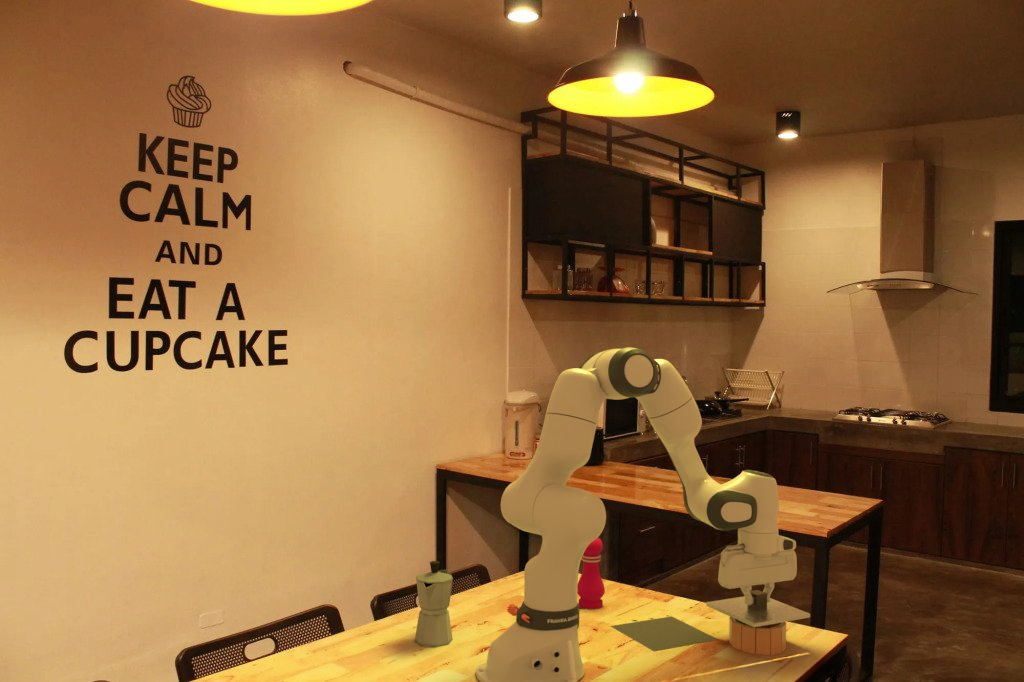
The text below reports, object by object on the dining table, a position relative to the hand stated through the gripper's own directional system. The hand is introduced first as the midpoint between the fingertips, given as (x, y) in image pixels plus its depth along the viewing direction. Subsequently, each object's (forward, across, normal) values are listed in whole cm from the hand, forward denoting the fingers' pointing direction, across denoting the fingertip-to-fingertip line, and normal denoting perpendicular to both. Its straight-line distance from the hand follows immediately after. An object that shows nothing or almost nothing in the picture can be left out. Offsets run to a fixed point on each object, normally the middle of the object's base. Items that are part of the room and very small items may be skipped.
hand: (757, 603), depth 190 cm
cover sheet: (+2, 0, 0) cm, 2 cm away
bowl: (+10, 0, 0) cm, 10 cm away
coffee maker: (+10, -65, +34) cm, 74 cm away
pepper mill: (+10, -20, +40) cm, 46 cm away
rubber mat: (+10, -15, +15) cm, 23 cm away
